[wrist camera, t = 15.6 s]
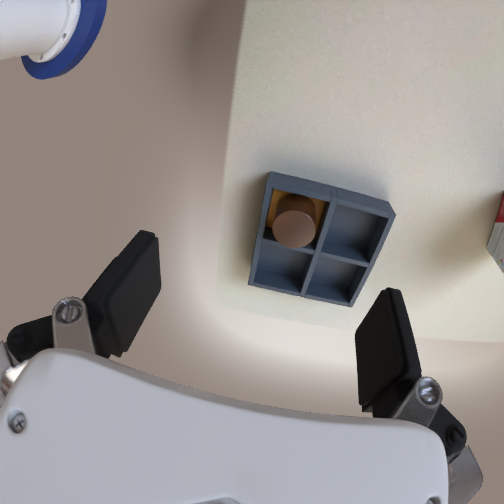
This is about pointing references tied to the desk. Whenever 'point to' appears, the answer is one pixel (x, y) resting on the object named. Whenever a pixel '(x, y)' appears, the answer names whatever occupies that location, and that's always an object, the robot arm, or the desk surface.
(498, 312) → the desk surface
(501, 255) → the ink box
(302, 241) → the cylinder
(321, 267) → the grid
